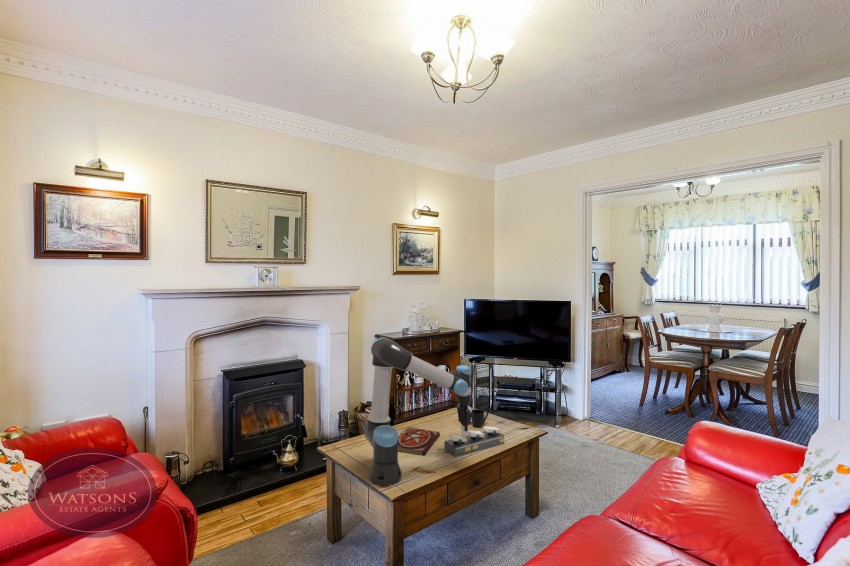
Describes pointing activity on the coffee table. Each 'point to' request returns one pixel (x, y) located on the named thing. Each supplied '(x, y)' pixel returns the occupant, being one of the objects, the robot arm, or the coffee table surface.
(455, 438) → the block
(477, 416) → the mug
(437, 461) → the coffee table surface
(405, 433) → the book
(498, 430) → the block
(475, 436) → the white rectangular block
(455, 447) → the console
